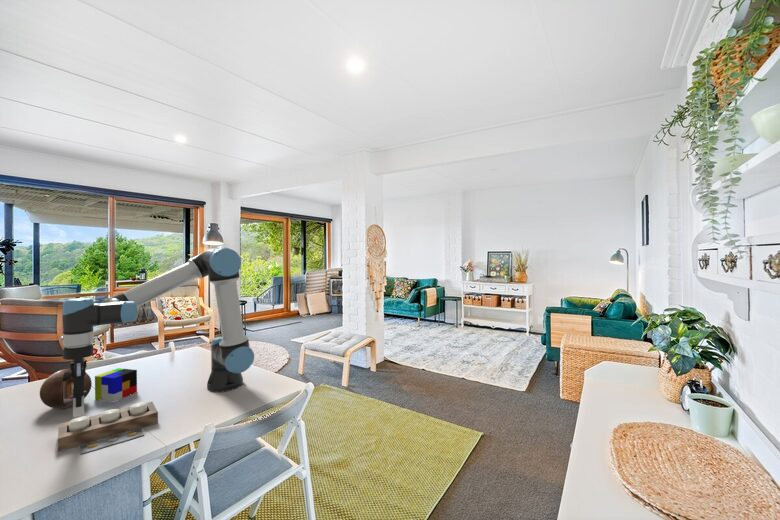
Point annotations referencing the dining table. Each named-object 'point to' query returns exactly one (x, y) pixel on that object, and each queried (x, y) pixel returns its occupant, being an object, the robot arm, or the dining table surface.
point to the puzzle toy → (115, 384)
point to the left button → (78, 423)
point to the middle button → (109, 415)
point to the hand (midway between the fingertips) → (78, 415)
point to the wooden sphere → (61, 389)
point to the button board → (107, 430)
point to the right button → (138, 408)
